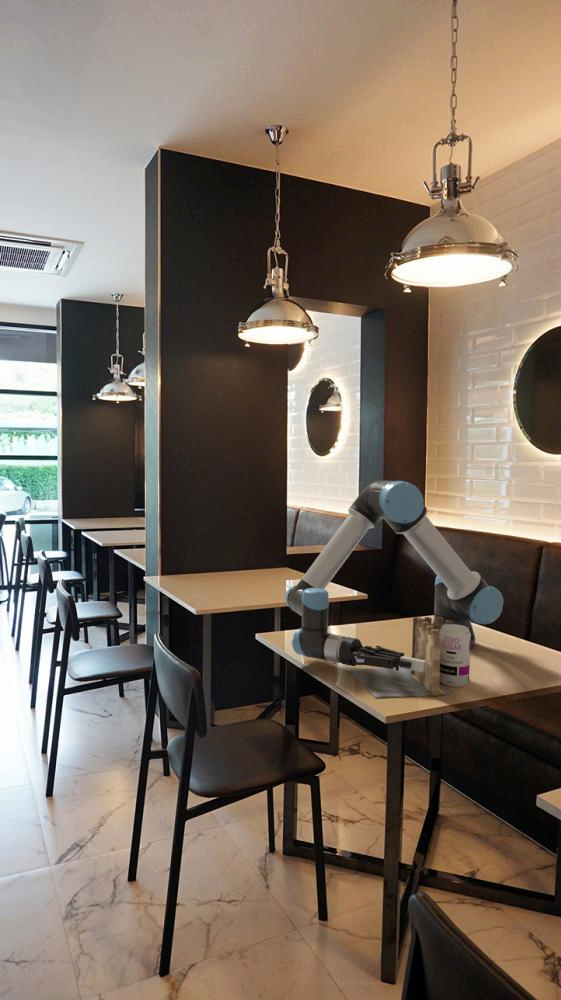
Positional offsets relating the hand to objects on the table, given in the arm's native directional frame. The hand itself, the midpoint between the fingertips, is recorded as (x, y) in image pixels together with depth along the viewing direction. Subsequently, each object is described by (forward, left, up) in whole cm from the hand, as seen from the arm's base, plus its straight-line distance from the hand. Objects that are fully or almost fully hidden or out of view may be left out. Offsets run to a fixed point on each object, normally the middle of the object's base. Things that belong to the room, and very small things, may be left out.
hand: (424, 666), depth 172 cm
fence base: (+1, -7, -6) cm, 10 cm away
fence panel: (-2, -3, -6) cm, 7 cm away
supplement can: (-11, -5, -7) cm, 14 cm away
